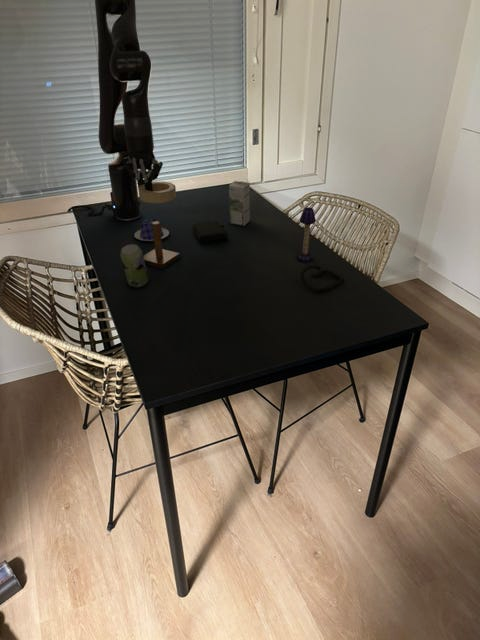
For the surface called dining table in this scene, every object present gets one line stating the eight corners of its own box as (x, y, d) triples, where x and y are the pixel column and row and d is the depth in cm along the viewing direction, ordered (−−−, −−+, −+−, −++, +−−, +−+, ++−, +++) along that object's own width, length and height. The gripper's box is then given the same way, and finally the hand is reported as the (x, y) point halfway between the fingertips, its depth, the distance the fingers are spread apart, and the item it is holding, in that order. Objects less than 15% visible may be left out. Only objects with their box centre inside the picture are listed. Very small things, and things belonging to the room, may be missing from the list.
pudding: (163, 226, 179) (161, 212, 176) (174, 238, 170) (172, 224, 167) (130, 232, 175) (128, 218, 172) (140, 245, 165) (138, 230, 163)
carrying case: (231, 241, 167) (221, 225, 179) (231, 233, 165) (220, 217, 177) (200, 245, 165) (192, 229, 177) (200, 237, 163) (191, 221, 175)
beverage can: (153, 280, 145) (148, 242, 138) (140, 292, 139) (135, 253, 132) (134, 277, 147) (128, 239, 140) (121, 289, 141) (114, 250, 134)
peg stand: (139, 262, 155) (134, 225, 148) (157, 251, 161) (153, 215, 154) (162, 269, 151) (158, 230, 144) (179, 257, 158) (176, 220, 151)
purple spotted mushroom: (315, 260, 155) (319, 209, 146) (303, 264, 153) (307, 212, 144) (306, 254, 158) (309, 204, 149) (294, 258, 156) (297, 207, 147)
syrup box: (250, 220, 183) (250, 181, 175) (243, 226, 178) (243, 186, 170) (236, 218, 185) (235, 180, 177) (229, 224, 180) (228, 184, 172)
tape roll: (132, 199, 144) (131, 189, 142) (154, 189, 151) (153, 179, 150) (161, 205, 140) (160, 195, 138) (182, 194, 147) (181, 184, 146)
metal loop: (335, 258, 146) (351, 273, 138) (333, 275, 149) (348, 290, 140) (294, 261, 142) (307, 276, 134) (291, 278, 145) (305, 293, 137)
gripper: (166, 132, 138) (172, 193, 147) (128, 127, 143) (135, 186, 153) (150, 137, 132) (156, 200, 142) (110, 132, 138) (119, 193, 147)
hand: (145, 192), depth 147 cm, fingers closed on tape roll
